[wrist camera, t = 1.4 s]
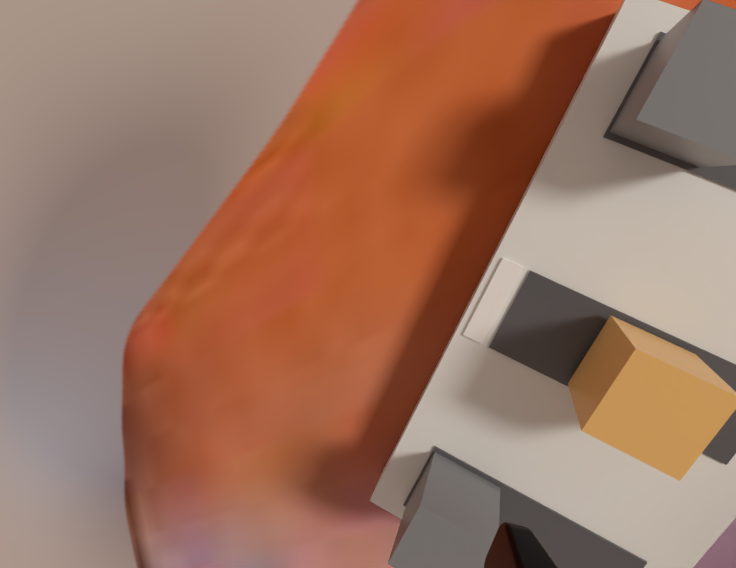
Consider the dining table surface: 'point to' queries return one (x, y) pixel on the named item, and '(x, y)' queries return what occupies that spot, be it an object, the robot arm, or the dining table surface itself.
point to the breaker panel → (590, 319)
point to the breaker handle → (649, 398)
